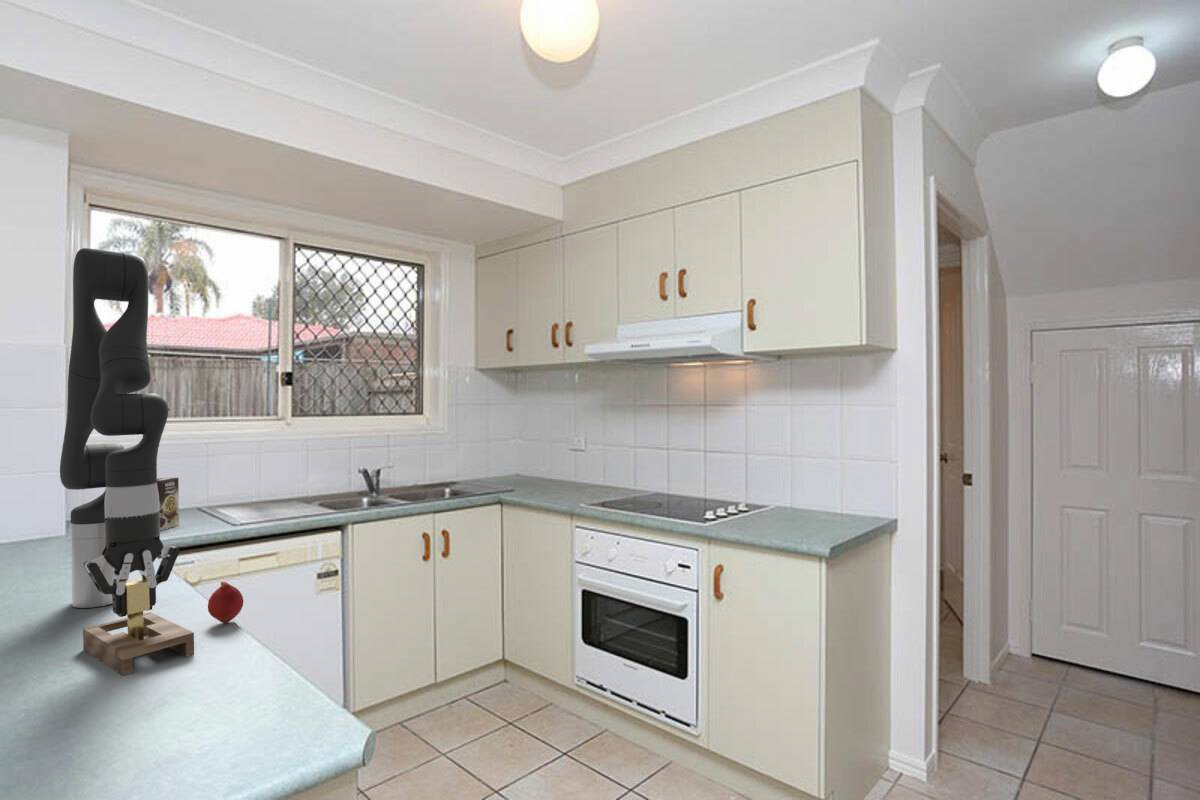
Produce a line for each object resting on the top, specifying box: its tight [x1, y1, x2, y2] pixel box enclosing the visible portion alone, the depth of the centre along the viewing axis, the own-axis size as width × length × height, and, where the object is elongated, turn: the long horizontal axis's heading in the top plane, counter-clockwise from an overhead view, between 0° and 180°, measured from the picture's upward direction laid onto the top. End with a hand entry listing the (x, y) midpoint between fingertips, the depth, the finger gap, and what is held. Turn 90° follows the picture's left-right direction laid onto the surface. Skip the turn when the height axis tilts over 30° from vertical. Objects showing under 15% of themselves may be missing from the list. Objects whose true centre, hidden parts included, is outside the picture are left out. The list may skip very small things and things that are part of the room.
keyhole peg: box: [124, 578, 152, 641], centre depth 109 cm, size 5×5×11 cm
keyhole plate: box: [82, 611, 195, 676], centre depth 109 cm, size 18×10×4 cm, turn 54°
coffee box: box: [157, 477, 180, 531], centre depth 212 cm, size 9×6×16 cm
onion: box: [207, 580, 244, 624], centre depth 122 cm, size 6×6×8 cm
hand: (134, 612), depth 109 cm, fingers closed on keyhole peg, 3 cm apart
